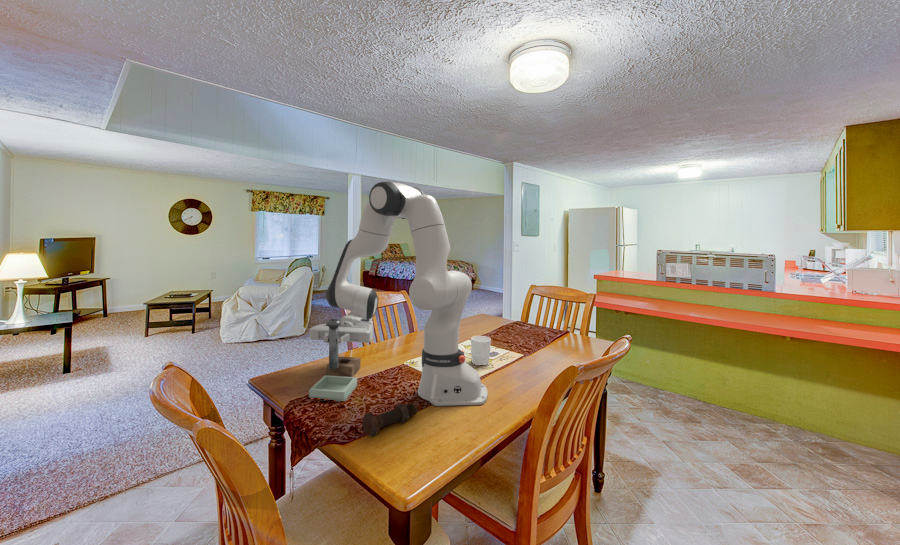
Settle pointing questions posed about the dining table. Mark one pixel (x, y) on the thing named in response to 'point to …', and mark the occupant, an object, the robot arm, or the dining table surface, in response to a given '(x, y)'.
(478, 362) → the white cup
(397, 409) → the bolt
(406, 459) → the dining table surface
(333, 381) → the tray
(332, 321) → the pin
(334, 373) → the socket block
